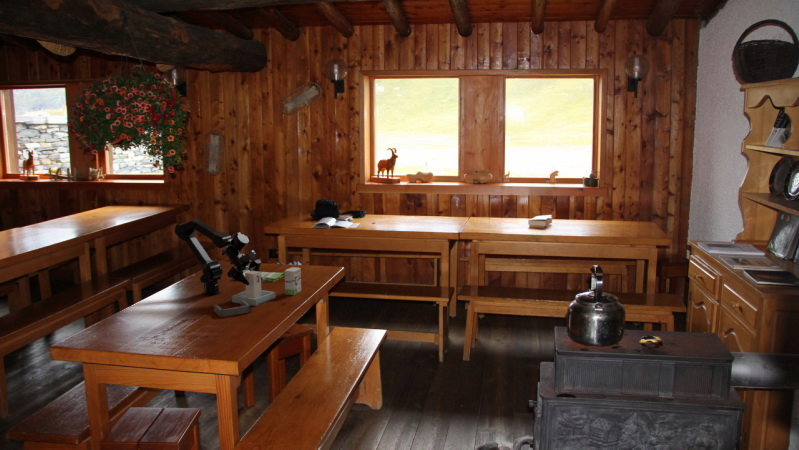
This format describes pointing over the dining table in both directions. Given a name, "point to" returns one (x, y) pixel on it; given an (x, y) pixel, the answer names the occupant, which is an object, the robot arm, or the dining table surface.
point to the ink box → (292, 281)
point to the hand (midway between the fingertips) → (255, 282)
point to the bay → (233, 310)
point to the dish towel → (268, 276)
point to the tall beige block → (253, 284)
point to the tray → (255, 302)
